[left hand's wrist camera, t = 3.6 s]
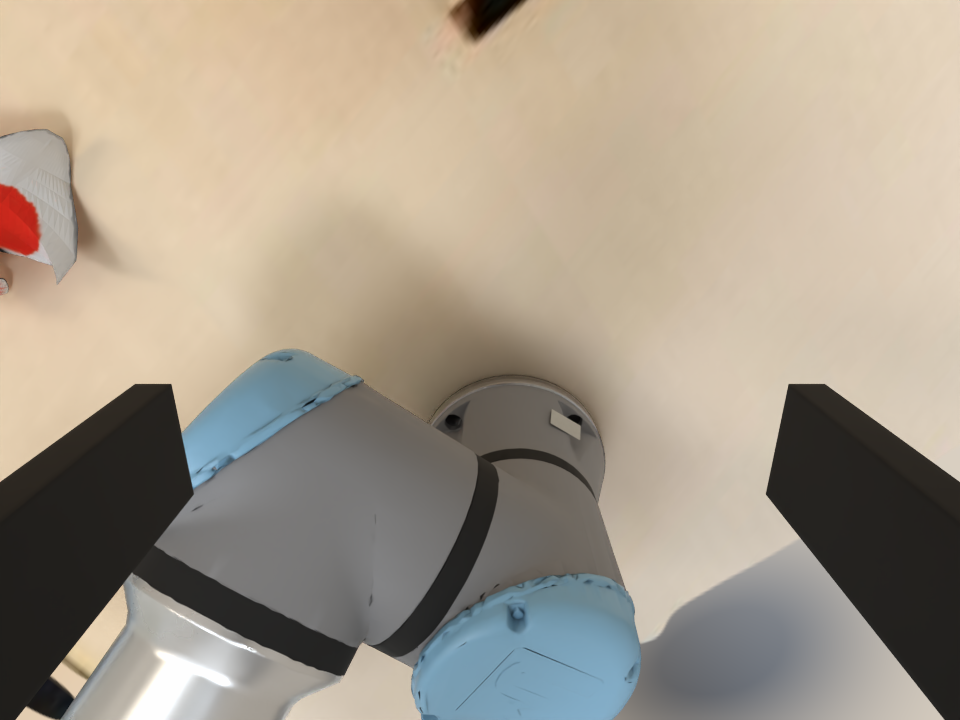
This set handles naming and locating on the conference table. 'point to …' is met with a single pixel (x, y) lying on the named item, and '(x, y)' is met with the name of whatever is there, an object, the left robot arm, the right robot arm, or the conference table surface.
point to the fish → (37, 200)
